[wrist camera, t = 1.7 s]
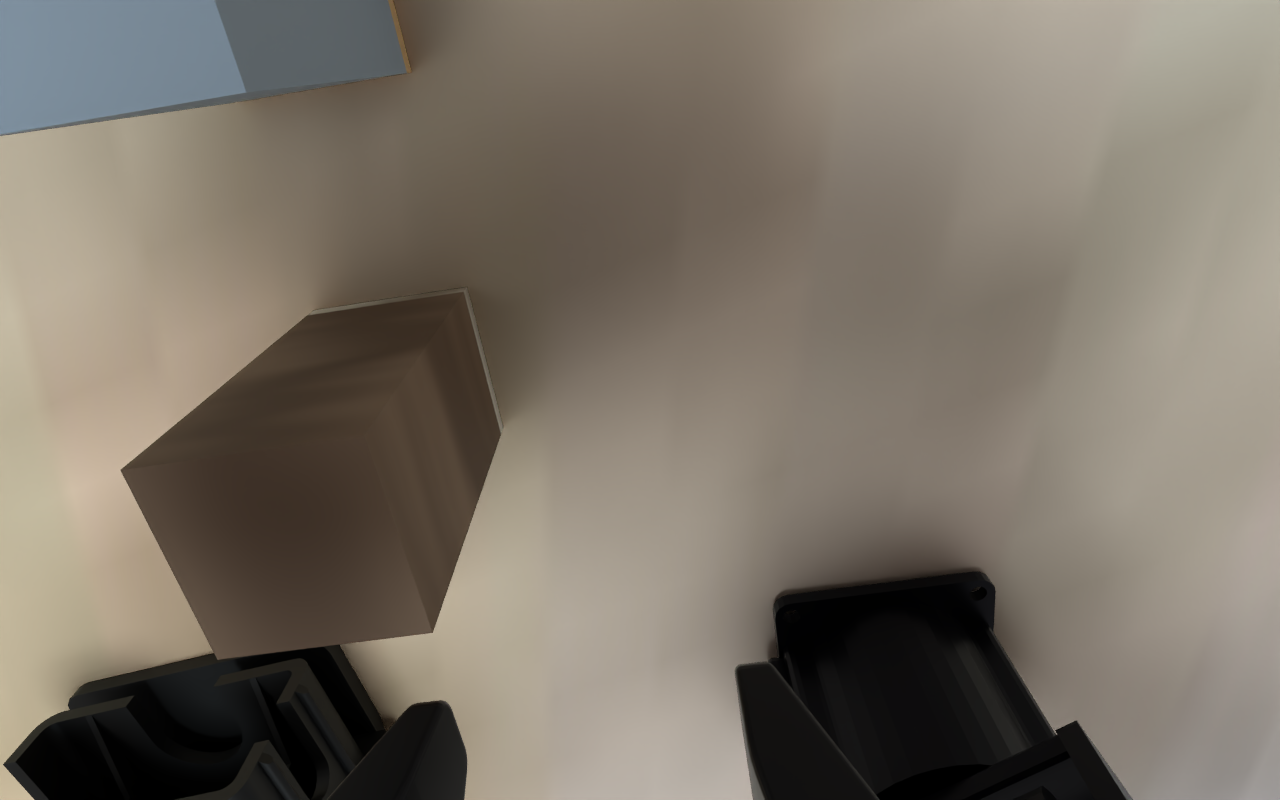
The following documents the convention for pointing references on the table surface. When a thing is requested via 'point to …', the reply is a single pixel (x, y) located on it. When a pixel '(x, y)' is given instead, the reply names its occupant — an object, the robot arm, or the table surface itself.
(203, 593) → the walnut block
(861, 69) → the table surface
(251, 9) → the slate block
